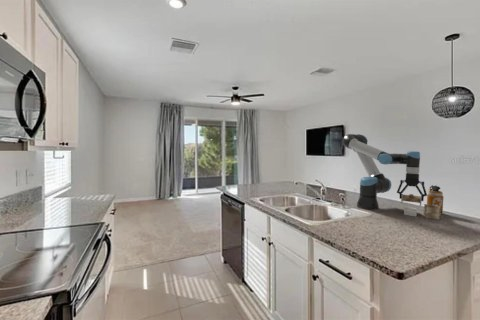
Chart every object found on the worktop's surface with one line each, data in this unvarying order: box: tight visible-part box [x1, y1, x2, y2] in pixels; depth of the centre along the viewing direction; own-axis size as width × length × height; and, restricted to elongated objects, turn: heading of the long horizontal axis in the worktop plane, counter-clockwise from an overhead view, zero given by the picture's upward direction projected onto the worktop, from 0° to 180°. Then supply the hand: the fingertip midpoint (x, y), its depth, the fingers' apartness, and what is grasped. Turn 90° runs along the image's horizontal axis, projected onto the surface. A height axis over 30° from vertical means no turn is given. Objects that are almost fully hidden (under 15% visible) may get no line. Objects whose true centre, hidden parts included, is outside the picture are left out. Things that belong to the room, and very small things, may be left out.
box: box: [423, 203, 442, 220], centre depth 162 cm, size 8×11×7 cm
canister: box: [426, 184, 444, 215], centre depth 172 cm, size 9×11×20 cm
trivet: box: [403, 206, 418, 217], centre depth 169 cm, size 7×13×3 cm, turn 145°
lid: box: [402, 193, 421, 204], centre depth 169 cm, size 10×13×4 cm
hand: (410, 204), depth 169 cm, fingers closed on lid, 10 cm apart
